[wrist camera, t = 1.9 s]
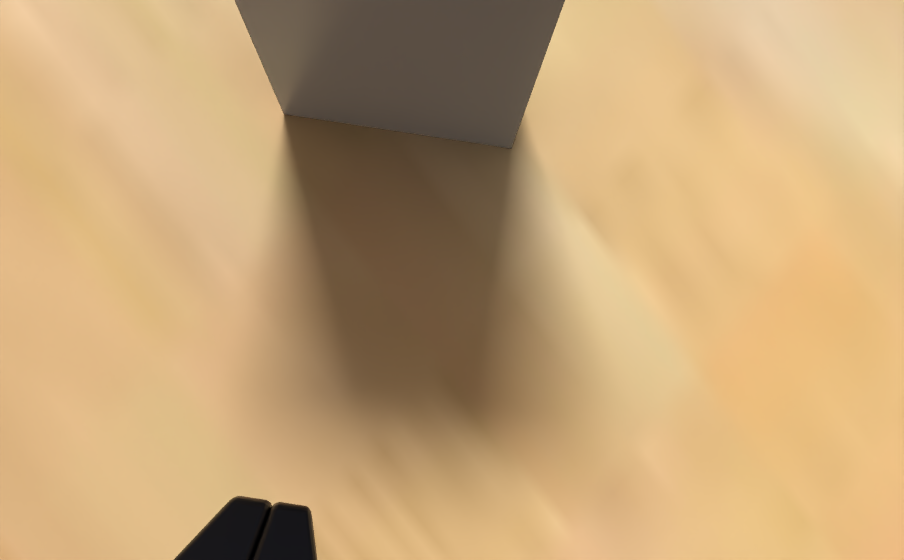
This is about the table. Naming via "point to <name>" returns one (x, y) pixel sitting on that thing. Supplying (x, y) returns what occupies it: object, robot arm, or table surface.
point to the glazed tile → (405, 62)
